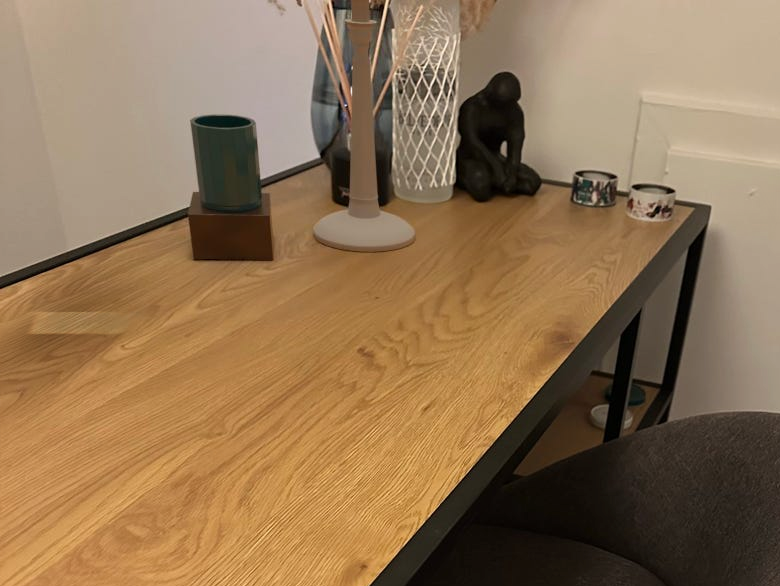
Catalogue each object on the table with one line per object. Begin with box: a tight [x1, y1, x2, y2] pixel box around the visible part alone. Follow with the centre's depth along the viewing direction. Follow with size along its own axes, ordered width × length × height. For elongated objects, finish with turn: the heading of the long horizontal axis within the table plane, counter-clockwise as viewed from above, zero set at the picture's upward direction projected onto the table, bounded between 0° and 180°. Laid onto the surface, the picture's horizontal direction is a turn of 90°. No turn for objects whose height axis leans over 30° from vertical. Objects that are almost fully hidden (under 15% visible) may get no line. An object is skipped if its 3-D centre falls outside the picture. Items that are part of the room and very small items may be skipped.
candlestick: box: [312, 0, 416, 253], centre depth 109 cm, size 13×13×30 cm
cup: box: [189, 114, 263, 212], centre depth 106 cm, size 7×7×8 cm
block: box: [187, 191, 274, 261], centre depth 110 cm, size 9×9×5 cm
